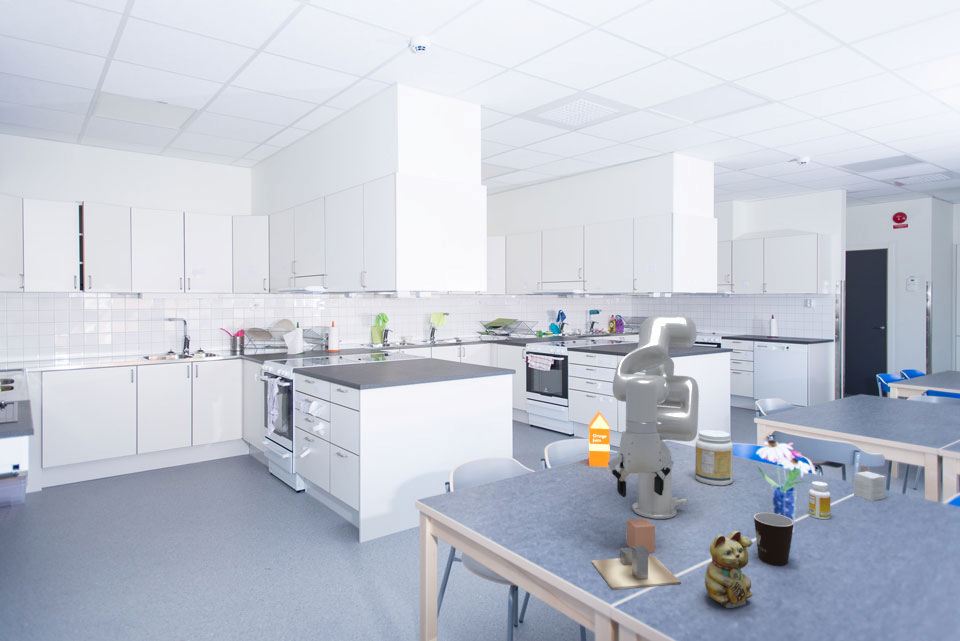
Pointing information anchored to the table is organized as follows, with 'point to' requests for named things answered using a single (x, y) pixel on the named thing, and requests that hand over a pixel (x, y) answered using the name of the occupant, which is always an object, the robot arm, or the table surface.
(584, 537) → the table surface
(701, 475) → the supplement tub
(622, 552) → the silver gray cube
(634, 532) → the salmon pink toy brick
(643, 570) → the post
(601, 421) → the orange juice
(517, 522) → the table surface
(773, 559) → the coffee mug
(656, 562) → the board
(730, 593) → the decorative figurine
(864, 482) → the pale grey block
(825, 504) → the supplement bottle
